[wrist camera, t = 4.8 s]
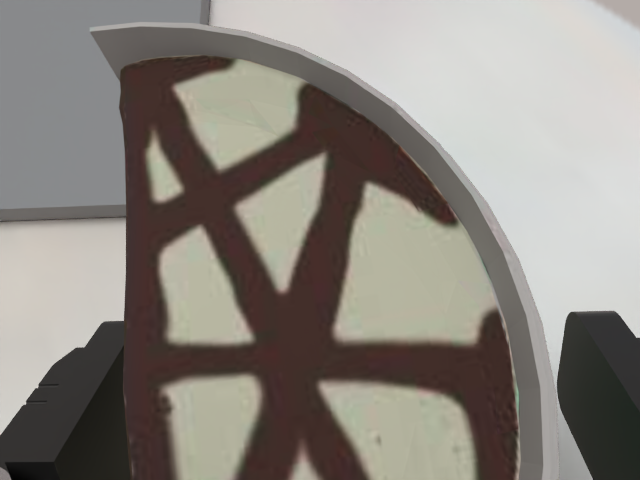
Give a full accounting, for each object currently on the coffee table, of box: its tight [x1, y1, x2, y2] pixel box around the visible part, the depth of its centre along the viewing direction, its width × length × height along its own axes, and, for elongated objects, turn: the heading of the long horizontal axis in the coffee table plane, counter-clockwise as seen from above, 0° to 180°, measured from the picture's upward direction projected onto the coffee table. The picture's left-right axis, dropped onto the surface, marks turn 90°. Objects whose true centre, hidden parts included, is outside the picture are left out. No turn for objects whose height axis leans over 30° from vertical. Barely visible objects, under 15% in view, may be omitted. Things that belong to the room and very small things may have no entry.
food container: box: [90, 22, 559, 480], centre depth 12 cm, size 12×6×10 cm, turn 8°
